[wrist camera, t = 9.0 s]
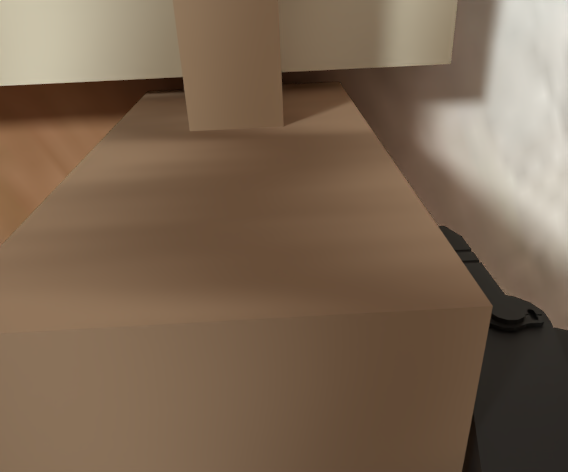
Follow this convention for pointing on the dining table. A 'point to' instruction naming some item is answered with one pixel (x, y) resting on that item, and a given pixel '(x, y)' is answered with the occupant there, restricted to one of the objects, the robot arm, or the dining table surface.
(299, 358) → the brown block with handle
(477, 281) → the robot arm
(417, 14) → the board
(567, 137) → the dining table surface
